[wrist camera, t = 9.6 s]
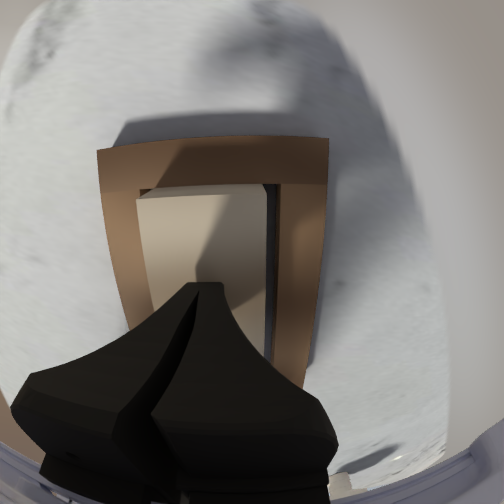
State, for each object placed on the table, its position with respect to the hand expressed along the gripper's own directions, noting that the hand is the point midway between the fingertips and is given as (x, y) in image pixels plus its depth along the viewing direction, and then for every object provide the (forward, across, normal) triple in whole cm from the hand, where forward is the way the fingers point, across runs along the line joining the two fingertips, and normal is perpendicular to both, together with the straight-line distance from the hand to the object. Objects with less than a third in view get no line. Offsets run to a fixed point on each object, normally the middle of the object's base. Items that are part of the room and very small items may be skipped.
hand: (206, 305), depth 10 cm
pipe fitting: (+4, -14, +35) cm, 38 cm away
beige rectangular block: (+4, 0, 0) cm, 5 cm away
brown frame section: (+4, 0, +2) cm, 5 cm away
